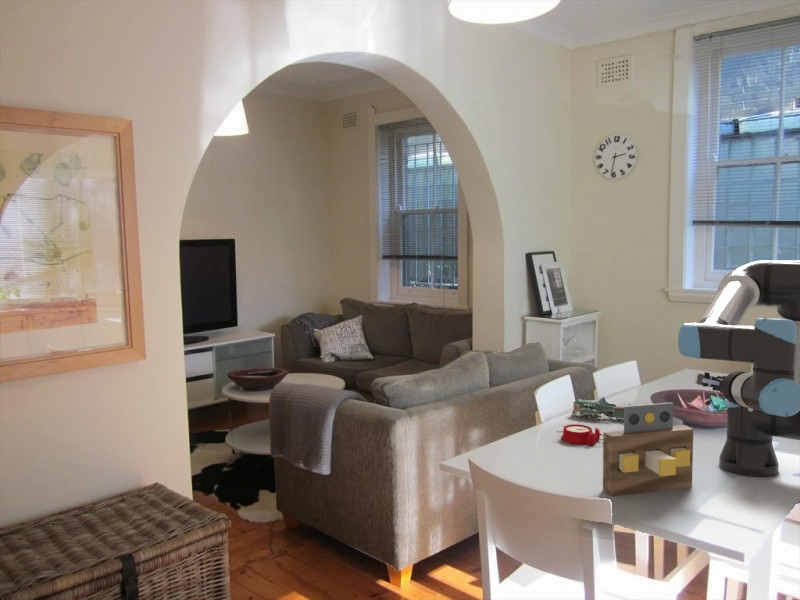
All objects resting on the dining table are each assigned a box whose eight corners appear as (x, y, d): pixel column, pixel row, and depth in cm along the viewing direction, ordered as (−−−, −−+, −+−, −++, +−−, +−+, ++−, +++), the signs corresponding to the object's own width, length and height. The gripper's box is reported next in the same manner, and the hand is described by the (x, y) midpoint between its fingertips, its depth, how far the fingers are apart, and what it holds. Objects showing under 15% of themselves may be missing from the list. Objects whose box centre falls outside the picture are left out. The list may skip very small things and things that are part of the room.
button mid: (675, 474, 169) (675, 458, 168) (660, 476, 168) (661, 460, 167) (655, 463, 178) (655, 447, 177) (640, 464, 177) (641, 449, 176)
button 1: (638, 471, 172) (638, 455, 172) (623, 472, 171) (623, 456, 171) (619, 459, 181) (620, 444, 180) (605, 461, 180) (606, 446, 179)
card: (673, 429, 177) (673, 403, 176) (625, 433, 174) (626, 407, 173) (671, 428, 178) (671, 402, 177) (623, 432, 175) (624, 406, 174)
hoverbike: (574, 412, 254) (575, 391, 254) (643, 419, 243) (644, 397, 243) (569, 419, 246) (569, 397, 245) (640, 426, 235) (641, 403, 234)
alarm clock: (564, 422, 228) (607, 419, 220) (568, 440, 228) (611, 437, 220) (553, 430, 220) (598, 427, 211) (557, 449, 219) (602, 446, 211)
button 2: (689, 465, 175) (690, 450, 175) (675, 467, 174) (675, 451, 174) (669, 454, 184) (669, 440, 183) (655, 456, 183) (655, 441, 182)
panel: (692, 487, 178) (693, 428, 177) (610, 496, 173) (611, 436, 172) (682, 481, 182) (683, 424, 181) (602, 490, 177) (603, 432, 176)
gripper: (714, 400, 145) (669, 387, 168) (772, 412, 145) (720, 398, 168) (721, 366, 145) (675, 358, 168) (779, 378, 145) (725, 369, 168)
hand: (697, 378), depth 168 cm, fingers closed
